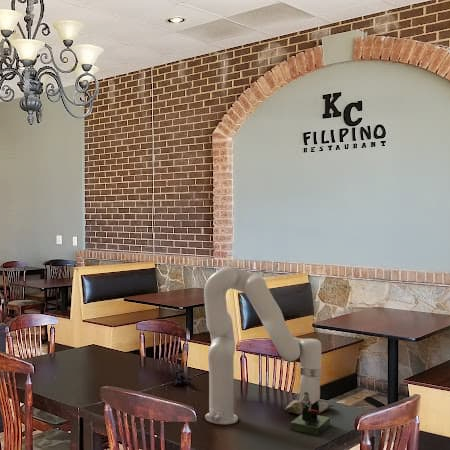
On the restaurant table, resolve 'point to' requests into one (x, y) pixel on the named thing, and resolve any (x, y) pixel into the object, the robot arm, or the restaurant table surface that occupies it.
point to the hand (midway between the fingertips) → (310, 417)
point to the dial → (313, 415)
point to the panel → (310, 425)
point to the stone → (297, 405)
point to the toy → (180, 378)
